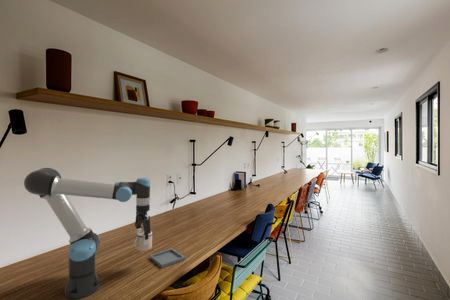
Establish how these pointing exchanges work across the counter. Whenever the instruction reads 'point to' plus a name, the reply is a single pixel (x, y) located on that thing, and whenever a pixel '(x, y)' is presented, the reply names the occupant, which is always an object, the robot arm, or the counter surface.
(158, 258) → the cup tray
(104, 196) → the robot arm
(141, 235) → the teacup with lid
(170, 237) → the counter surface
